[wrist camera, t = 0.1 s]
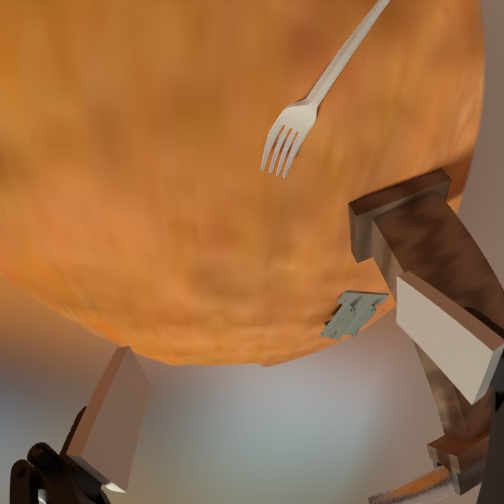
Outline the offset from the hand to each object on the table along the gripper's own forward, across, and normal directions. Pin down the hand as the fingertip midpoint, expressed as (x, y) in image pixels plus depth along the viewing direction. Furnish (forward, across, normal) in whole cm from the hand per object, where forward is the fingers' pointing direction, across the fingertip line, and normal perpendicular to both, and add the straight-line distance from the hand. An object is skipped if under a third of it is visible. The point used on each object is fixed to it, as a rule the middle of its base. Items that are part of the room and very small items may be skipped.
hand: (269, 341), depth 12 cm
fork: (+10, +10, +14) cm, 19 cm away
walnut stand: (+20, +20, -2) cm, 28 cm away
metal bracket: (+37, +17, -24) cm, 47 cm away
